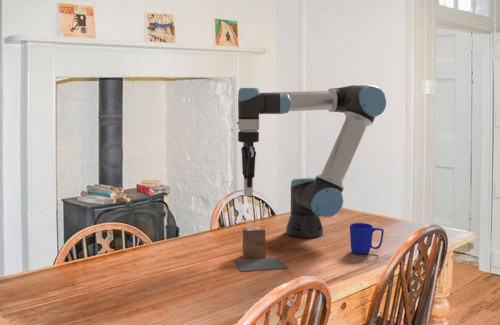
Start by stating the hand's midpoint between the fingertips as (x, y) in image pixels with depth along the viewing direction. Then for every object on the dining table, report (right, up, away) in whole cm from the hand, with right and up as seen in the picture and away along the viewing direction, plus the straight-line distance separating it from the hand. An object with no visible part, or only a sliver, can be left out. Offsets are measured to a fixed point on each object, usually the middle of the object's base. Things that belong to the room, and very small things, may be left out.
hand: (248, 195), depth 210 cm
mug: (+43, -21, 0) cm, 48 cm away
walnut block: (+2, -21, -6) cm, 22 cm away
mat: (+4, -23, -15) cm, 28 cm away
